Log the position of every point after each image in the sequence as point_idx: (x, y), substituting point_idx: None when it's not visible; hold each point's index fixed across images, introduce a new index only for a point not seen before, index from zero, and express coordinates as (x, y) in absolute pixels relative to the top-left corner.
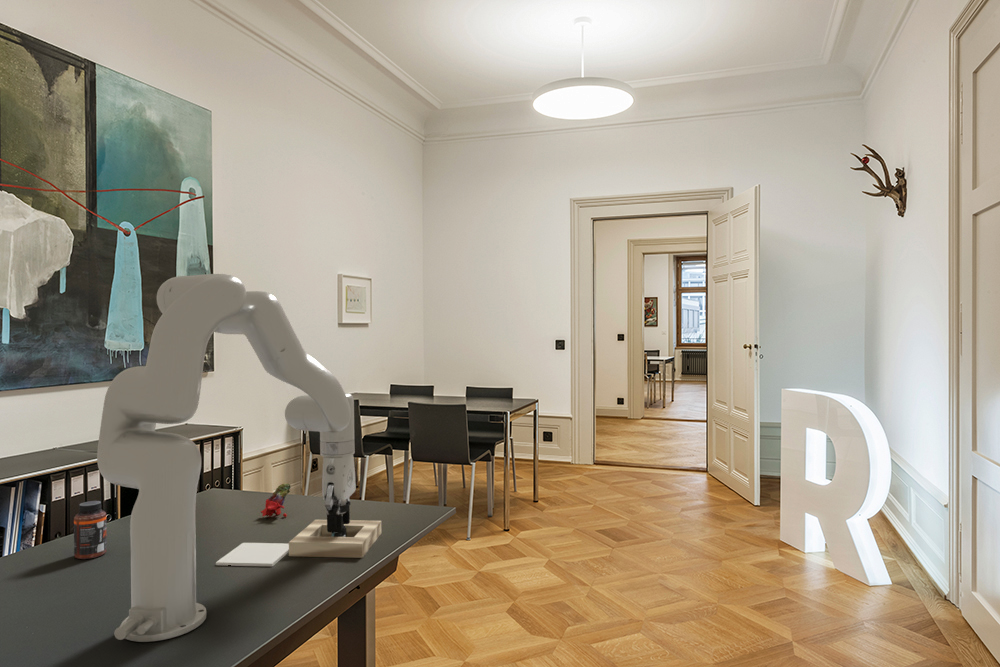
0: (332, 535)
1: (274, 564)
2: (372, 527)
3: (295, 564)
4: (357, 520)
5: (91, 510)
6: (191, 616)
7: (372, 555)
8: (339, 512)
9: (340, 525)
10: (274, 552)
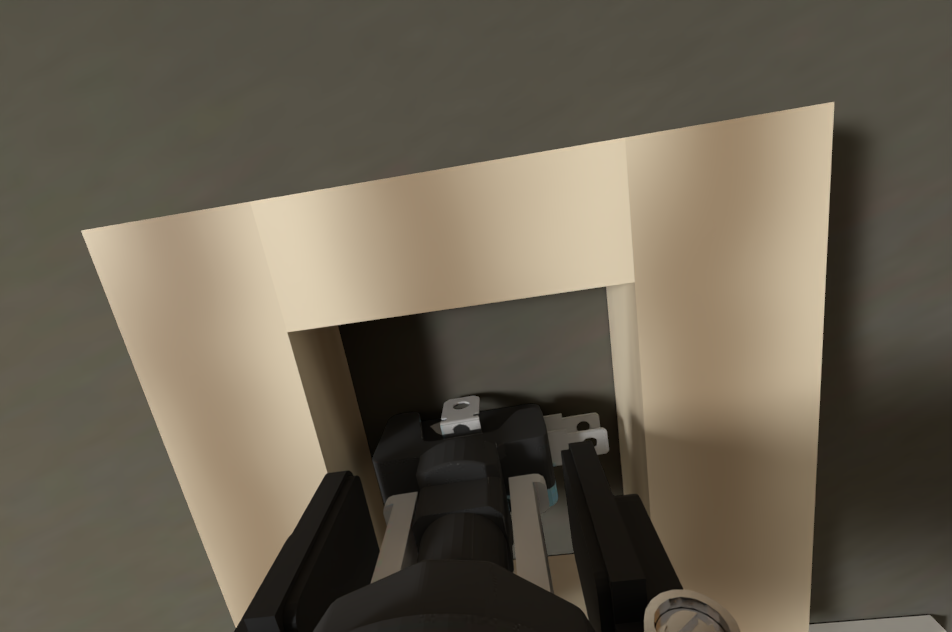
0: (556, 493)
1: (902, 618)
2: (309, 227)
3: (893, 516)
4: (171, 453)
5: None
6: None
7: (686, 58)
8: (670, 624)
9: (607, 482)
10: None
